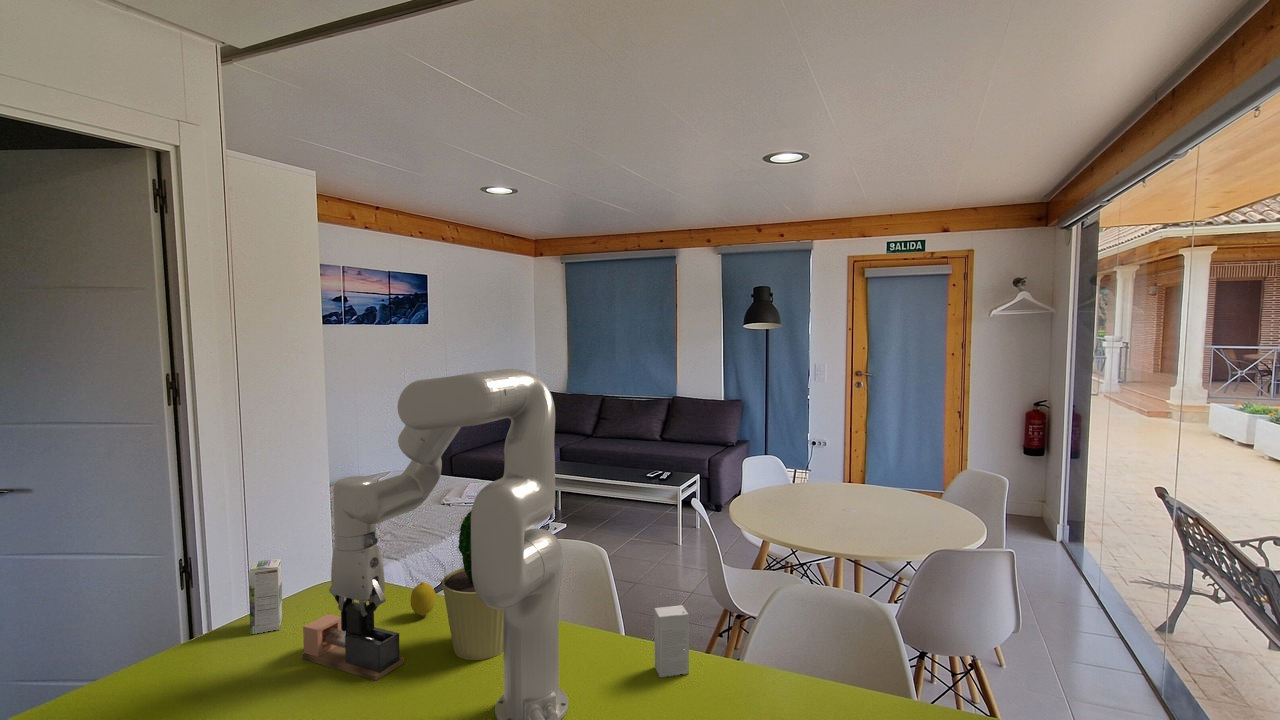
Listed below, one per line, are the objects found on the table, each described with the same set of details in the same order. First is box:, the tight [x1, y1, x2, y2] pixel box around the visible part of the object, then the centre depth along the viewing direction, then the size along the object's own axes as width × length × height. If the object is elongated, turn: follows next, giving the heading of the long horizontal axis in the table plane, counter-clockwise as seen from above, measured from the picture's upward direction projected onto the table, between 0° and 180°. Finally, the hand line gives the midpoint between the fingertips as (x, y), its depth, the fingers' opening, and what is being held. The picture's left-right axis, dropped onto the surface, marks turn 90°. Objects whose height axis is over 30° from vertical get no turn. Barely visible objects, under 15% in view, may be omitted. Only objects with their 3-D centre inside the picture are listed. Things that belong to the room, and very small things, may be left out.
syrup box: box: [248, 558, 283, 636], centre depth 139 cm, size 6×6×14 cm
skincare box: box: [653, 604, 690, 678], centre depth 122 cm, size 6×4×12 cm
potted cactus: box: [441, 508, 504, 661], centre depth 130 cm, size 15×15×30 cm
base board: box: [301, 646, 404, 681], centre depth 126 cm, size 20×7×1 cm, turn 67°
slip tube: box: [325, 601, 378, 648], centre depth 125 cm, size 11×3×9 cm, turn 67°
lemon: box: [409, 581, 437, 617], centre depth 145 cm, size 6×6×8 cm
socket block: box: [302, 613, 341, 657], centre depth 129 cm, size 4×6×6 cm, turn 157°
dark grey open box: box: [345, 626, 401, 673], centre depth 123 cm, size 9×5×6 cm, turn 67°
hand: (357, 629), depth 125 cm, fingers closed on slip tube, 4 cm apart
